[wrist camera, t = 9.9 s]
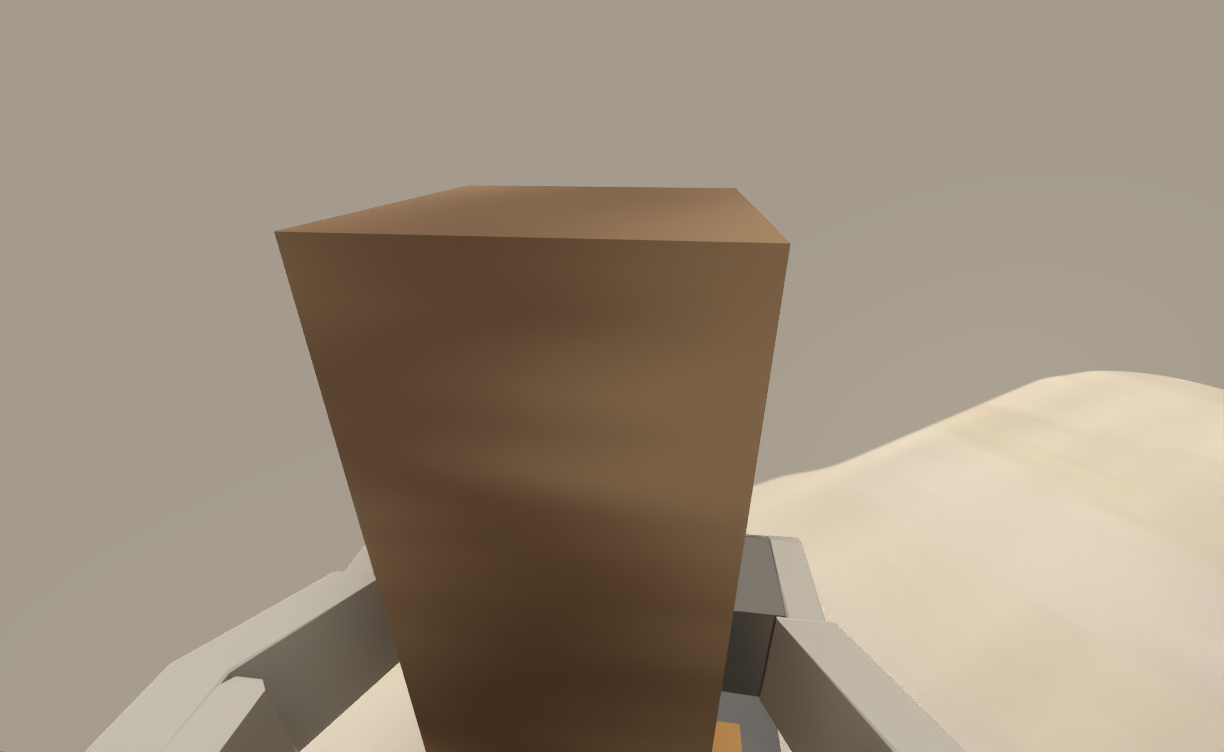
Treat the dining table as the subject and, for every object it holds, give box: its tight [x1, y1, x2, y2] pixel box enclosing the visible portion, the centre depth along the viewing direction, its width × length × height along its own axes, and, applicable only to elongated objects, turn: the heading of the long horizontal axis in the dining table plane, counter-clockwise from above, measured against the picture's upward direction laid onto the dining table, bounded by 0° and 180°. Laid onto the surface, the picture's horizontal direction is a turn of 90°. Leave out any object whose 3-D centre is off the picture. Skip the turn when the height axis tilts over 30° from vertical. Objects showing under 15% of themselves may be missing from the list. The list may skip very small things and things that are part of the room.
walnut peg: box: [275, 186, 790, 752], centre depth 9 cm, size 4×4×14 cm
